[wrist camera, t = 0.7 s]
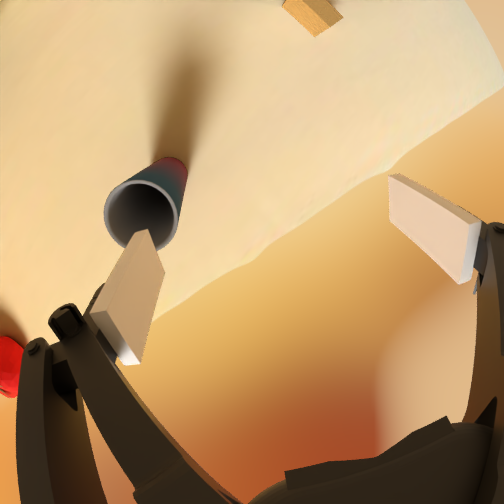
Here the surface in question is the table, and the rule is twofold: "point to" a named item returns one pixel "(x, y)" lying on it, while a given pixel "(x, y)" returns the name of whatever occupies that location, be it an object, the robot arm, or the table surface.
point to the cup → (147, 203)
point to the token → (313, 14)
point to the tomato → (9, 366)
